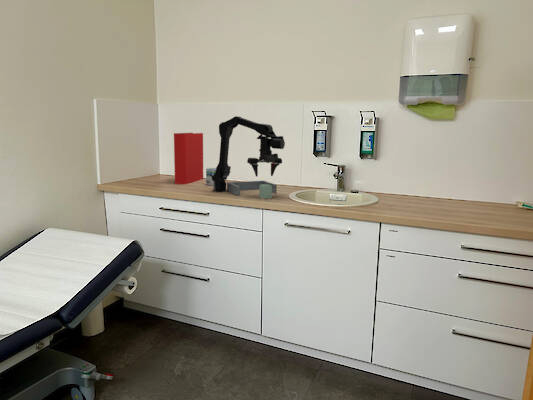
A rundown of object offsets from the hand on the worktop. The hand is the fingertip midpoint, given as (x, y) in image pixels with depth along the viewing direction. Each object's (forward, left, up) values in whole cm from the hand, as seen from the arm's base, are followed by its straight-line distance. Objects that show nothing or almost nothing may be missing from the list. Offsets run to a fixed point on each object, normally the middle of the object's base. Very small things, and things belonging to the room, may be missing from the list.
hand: (264, 176), depth 216 cm
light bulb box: (-13, +45, -11) cm, 48 cm away
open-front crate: (-2, +12, -11) cm, 16 cm away
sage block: (-2, -6, -11) cm, 13 cm away
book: (-25, +64, -11) cm, 70 cm away
